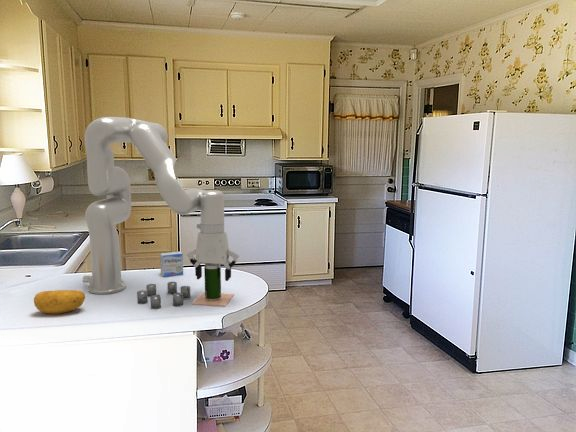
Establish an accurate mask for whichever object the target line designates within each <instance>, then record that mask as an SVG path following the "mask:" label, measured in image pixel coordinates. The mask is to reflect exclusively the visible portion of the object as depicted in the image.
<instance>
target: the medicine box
mask: <svg viewBox="0 0 576 432" xmlns="http://www.w3.org/2000/svg"><path fill="white" fill-rule="evenodd" d="M159 257H160V258H159V259H160V260H159V261H160V262H159V263H160V275H161V276H162V277H163V278H169V277H176V276H182V275H184V255H183V252H181V251H172V252H170V251H169V252H162V253H159Z"/></svg>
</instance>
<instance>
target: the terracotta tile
mask: <svg viewBox="0 0 576 432" xmlns="http://www.w3.org/2000/svg"><path fill="white" fill-rule="evenodd" d="M234 296H235V293H225V292H224V293H223V292H221V298H220V299H219V300H217V301H208V300H206V298H205V291H203V292H201V294H200V295H198V297H197V298H196V299H195V300H194V301H193V302H192V303H191V304H192V305H195V306H209V307H212V306H213V307H227V305H228V304H229V303H230V301H231V300H232V298H233V297H234Z"/></svg>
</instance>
